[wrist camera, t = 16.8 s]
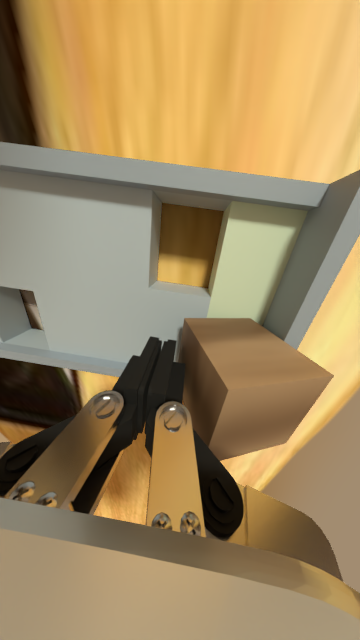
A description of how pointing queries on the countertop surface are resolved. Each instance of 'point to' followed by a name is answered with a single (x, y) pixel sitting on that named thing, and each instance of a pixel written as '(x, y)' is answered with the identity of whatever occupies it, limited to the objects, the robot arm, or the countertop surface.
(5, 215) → the trap box
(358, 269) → the countertop surface
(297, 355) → the block
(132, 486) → the countertop surface
